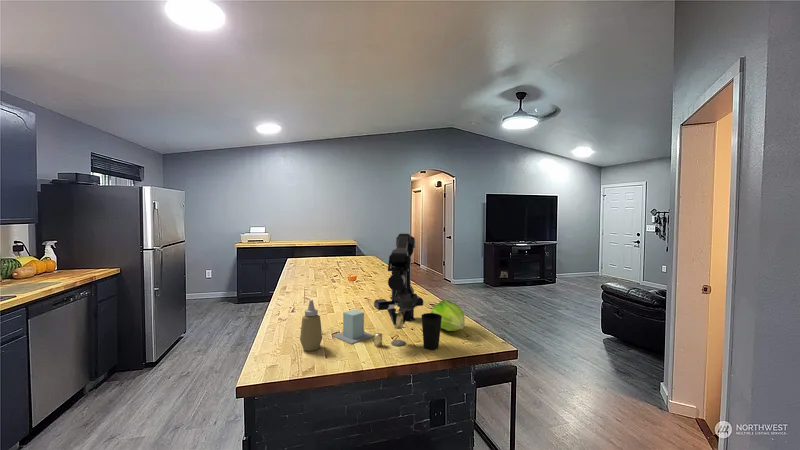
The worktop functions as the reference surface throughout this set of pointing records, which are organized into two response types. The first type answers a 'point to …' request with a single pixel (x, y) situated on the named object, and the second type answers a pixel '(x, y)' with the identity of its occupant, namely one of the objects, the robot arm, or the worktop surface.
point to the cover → (353, 324)
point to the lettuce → (449, 315)
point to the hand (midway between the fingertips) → (398, 324)
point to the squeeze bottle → (311, 329)
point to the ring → (398, 343)
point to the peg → (398, 320)
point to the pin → (378, 339)
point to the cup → (431, 330)
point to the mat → (352, 341)
